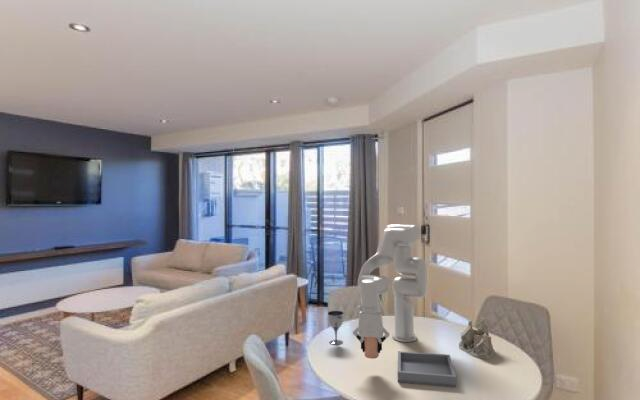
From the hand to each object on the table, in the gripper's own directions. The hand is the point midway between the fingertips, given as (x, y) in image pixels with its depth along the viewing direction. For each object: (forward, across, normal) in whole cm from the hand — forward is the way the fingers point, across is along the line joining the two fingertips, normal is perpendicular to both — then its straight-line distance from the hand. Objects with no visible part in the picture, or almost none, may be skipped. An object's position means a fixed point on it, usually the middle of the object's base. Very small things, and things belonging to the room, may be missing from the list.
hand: (371, 350), depth 154 cm
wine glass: (+9, -20, +27) cm, 35 cm away
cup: (+2, 0, 0) cm, 2 cm away
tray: (+9, +22, +2) cm, 23 cm away
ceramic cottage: (+10, +46, +29) cm, 56 cm away
